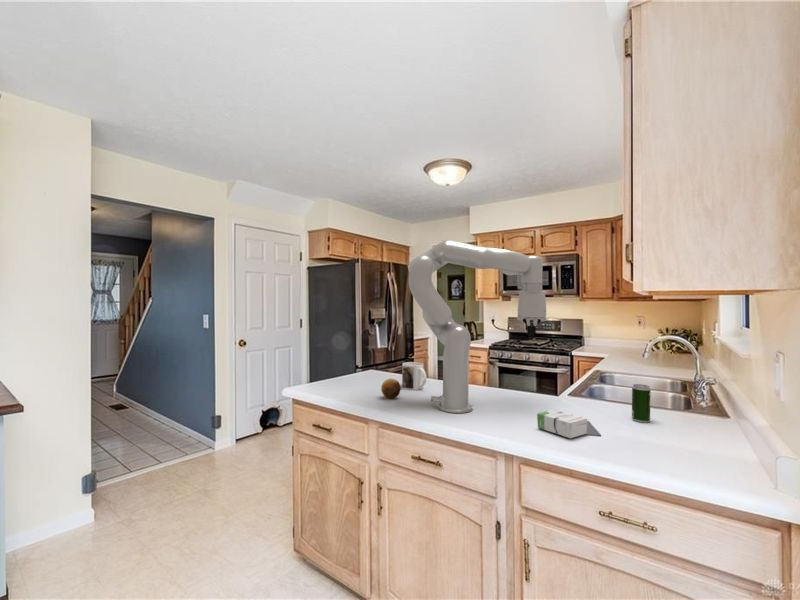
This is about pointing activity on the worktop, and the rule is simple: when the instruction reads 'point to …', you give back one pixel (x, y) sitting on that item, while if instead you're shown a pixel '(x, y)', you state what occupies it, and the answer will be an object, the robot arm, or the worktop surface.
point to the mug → (413, 376)
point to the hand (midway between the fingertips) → (531, 336)
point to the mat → (591, 430)
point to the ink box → (562, 423)
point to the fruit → (391, 388)
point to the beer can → (641, 403)
